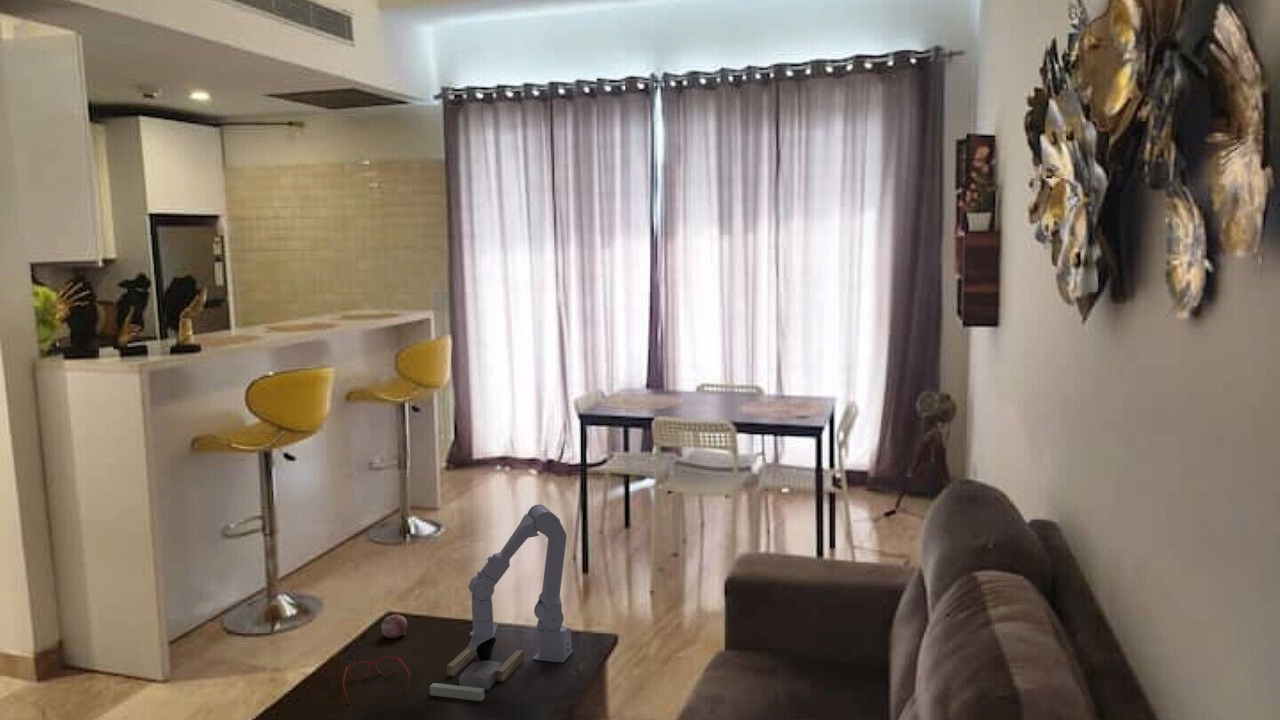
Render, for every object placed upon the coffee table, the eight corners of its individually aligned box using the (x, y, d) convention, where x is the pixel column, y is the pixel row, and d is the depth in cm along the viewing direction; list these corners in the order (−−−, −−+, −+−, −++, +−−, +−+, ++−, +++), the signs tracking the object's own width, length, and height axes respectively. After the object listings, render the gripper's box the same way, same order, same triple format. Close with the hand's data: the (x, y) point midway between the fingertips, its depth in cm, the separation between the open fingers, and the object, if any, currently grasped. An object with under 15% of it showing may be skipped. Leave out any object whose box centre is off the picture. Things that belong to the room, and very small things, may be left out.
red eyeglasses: (405, 670, 264) (403, 653, 264) (412, 694, 249) (411, 676, 249) (341, 681, 258) (340, 664, 257) (345, 707, 243) (343, 689, 242)
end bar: (484, 697, 245) (484, 688, 245) (481, 701, 243) (480, 692, 243) (433, 691, 249) (433, 682, 249) (430, 695, 247) (429, 686, 247)
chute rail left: (476, 655, 271) (476, 645, 271) (453, 676, 258) (453, 666, 258) (470, 654, 272) (469, 645, 272) (447, 675, 259) (446, 665, 258)
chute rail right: (523, 660, 267) (523, 650, 267) (503, 681, 254) (502, 671, 253) (517, 659, 268) (516, 649, 267) (496, 681, 254) (496, 670, 254)
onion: (381, 644, 284) (373, 622, 284) (391, 636, 292) (384, 614, 292) (404, 636, 283) (396, 614, 283) (414, 629, 290) (407, 607, 291)
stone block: (457, 695, 251) (491, 690, 249) (453, 678, 251) (487, 673, 248) (474, 677, 262) (506, 672, 260) (470, 661, 262) (503, 656, 260)
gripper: (481, 607, 269) (483, 652, 270) (457, 627, 255) (460, 674, 257) (503, 609, 267) (505, 654, 268) (481, 629, 253) (483, 676, 255)
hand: (485, 664), depth 262 cm, fingers closed
